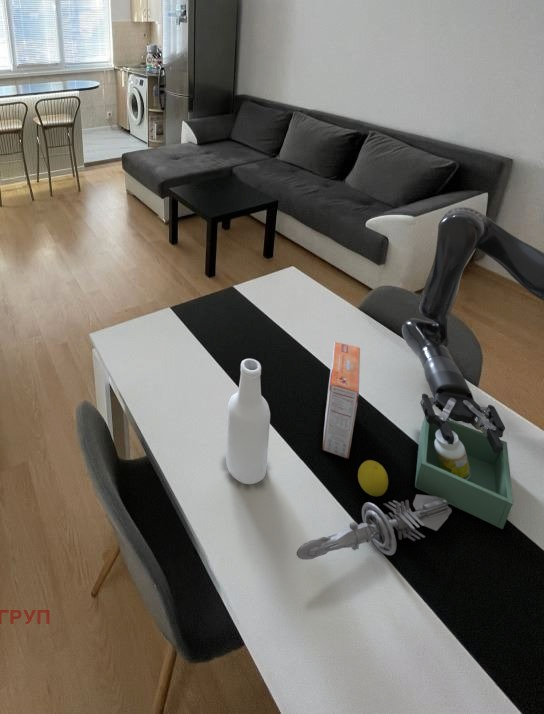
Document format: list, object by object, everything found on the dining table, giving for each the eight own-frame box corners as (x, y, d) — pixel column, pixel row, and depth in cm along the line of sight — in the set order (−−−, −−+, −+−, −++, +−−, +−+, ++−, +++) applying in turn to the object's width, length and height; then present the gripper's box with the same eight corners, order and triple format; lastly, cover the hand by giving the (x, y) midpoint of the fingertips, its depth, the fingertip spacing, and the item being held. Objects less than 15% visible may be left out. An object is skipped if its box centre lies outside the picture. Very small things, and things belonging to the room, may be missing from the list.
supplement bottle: (477, 476, 89) (469, 441, 87) (455, 487, 89) (446, 451, 87) (455, 455, 94) (447, 421, 92) (434, 465, 94) (425, 431, 92)
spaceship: (282, 516, 80) (309, 550, 72) (429, 472, 89) (466, 498, 81) (285, 559, 79) (313, 598, 72) (431, 510, 89) (470, 540, 81)
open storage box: (497, 466, 93) (506, 442, 91) (502, 529, 82) (513, 504, 80) (419, 433, 101) (425, 410, 98) (414, 487, 90) (421, 463, 87)
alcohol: (273, 465, 96) (282, 363, 85) (252, 495, 91) (258, 390, 80) (240, 440, 102) (244, 342, 91) (218, 467, 96) (219, 366, 85)
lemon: (352, 475, 93) (357, 450, 90) (380, 480, 92) (386, 454, 89) (359, 502, 88) (364, 476, 85) (388, 507, 87) (394, 481, 84)
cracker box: (325, 403, 110) (334, 339, 103) (351, 411, 108) (361, 346, 100) (320, 450, 99) (329, 383, 91) (348, 460, 96) (360, 392, 89)
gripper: (414, 364, 101) (437, 425, 86) (486, 375, 96) (522, 441, 82) (409, 388, 103) (430, 450, 89) (478, 399, 99) (512, 467, 85)
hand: (474, 446), depth 85 cm, fingers open, 7 cm apart
